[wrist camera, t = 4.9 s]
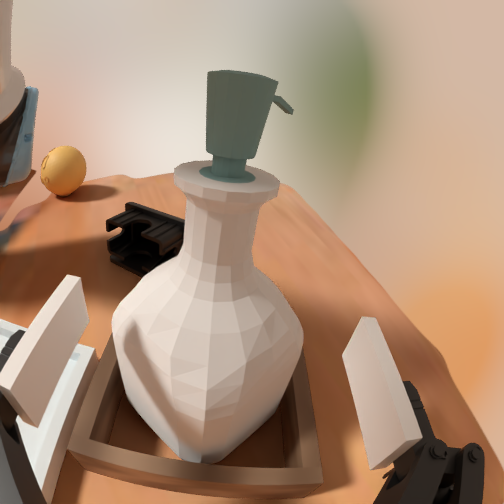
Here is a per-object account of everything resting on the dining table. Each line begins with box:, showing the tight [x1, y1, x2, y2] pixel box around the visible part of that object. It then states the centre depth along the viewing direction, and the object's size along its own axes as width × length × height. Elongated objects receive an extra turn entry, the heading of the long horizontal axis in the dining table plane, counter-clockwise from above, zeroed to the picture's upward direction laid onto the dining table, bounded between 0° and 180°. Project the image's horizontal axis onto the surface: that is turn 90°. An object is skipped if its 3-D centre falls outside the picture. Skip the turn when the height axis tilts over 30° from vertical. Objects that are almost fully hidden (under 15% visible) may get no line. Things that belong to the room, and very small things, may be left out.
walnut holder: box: [67, 332, 324, 499], centre depth 21 cm, size 15×15×4 cm
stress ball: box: [41, 146, 86, 196], centre depth 50 cm, size 10×10×10 cm
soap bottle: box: [111, 70, 304, 464], centre depth 16 cm, size 10×10×23 cm
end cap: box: [106, 202, 185, 278], centre depth 37 cm, size 10×7×7 cm
